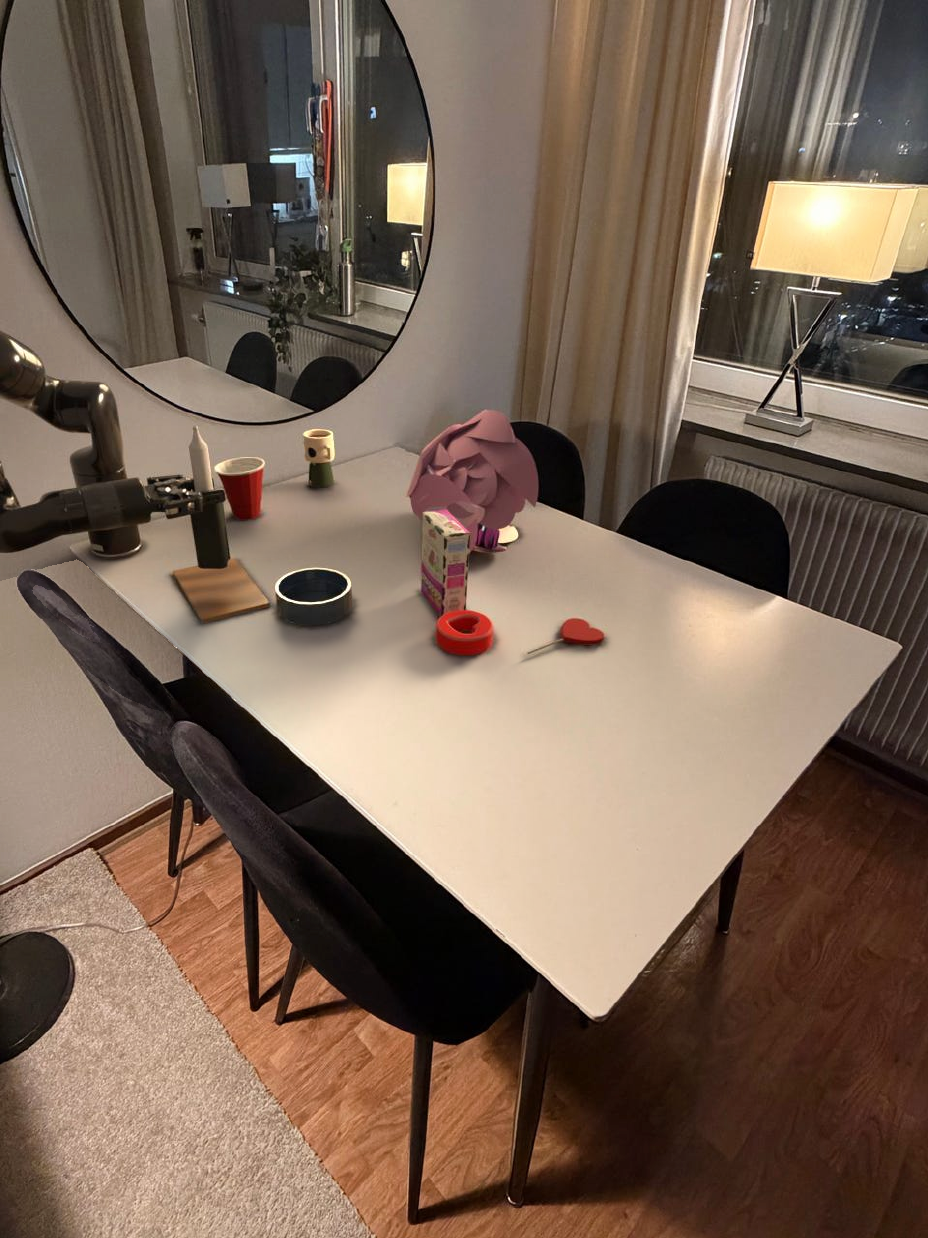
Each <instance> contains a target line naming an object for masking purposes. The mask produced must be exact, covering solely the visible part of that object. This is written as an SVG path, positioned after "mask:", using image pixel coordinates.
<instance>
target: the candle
mask: <svg viewBox="0 0 928 1238" xmlns="http://www.w3.org/2000/svg"><path fill="white" fill-rule="evenodd" d="M192 430H193V431H192V432H193V433H192V438H191V442H190V443H189V445H188V452H189V457H190V466H191V471H192V477H193V479H194V485H195V490H194V491H192V490H191V492H201V491H208V490H214V489H215V488H213V484H212V478H213V476H212V471H211V463H210V456H209V449H208V445H207V443H206V441H204V440H203V438H202V435H201V434H200V431H199V427H198V426H197V425H193V427H192ZM193 503H194V502H193ZM203 506H204V507H203V508H202V510H203V511H202V512H200V513H195V514H191V515H189V516H190V522H191V529H192V535H193V540H194V549H195V554H196V561H197V566H198V567H199V568H201V569H223V568H226V567H227V566H228V564H227V563H228V561H229V559H231V552H230V543H229V536H228V528H227V521H226V520H227V519H226V513H225V512H226V511H225V506H224V502H221V503H215V504H209V505H203ZM189 509H192V508H189Z"/></svg>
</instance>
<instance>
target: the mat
mask: <svg viewBox="0 0 928 1238" xmlns="http://www.w3.org/2000/svg"><path fill="white" fill-rule="evenodd" d="M227 564H228V566H227V567H226V568H223V569H201V568H199V567H198V565H195V566H190V567H185V568H180V569H175V570H172V575H173V577H174V578H175V581H176V582H177V583H178V585H179V588H181V590H182V592H183V593H184V595H185V597H186V598H187V600H188V602H189V603H190V605H191V607H192V608H193V610H194V612H195V614H196V615H197V617H198V619H199V620H200V622H201V623H202V624H205V623H209V622H214V621H217V620H220V619H224V618H229V617H233V616H237V615H240V614H241V615H242V614H245V613H249V612H253V611H257V610H261V609H264V608H269V607H271V606H270V605H271V604H270V601H269V600H268V599H267V598H266V596H265V595H264V594H263V593H262V591H261V590H260V588H259V587H258V586H257V585H256V583H255V582H254V581H253V580H252V578H251V577H250V575H249V574H248V573H247V571H245V569H244V567H242V565H241V564H240V563H239V562H238V560H237V559H236V557H232V558H231V557H230V559H229V561H228V563H227Z"/></svg>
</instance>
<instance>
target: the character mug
mask: <svg viewBox="0 0 928 1238" xmlns="http://www.w3.org/2000/svg"><path fill="white" fill-rule="evenodd" d="M302 436H303V437H302V439H303V442H302V443H303V446H304V458H305V461H306V462H309V464H308V465H309V466H308V482H310V486H311V487H313V488H326V487H328V486H331V485H334V483H335V479H334V473H333V468H332V464H331V461H333V460H334V459H335V442H334V432H333V431H331V430H328V429H321V428H320V429H319V428H314V429H309V430H306V431H304V432H303V434H302Z"/></svg>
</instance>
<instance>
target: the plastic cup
mask: <svg viewBox="0 0 928 1238" xmlns="http://www.w3.org/2000/svg"><path fill="white" fill-rule="evenodd" d="M265 465H266V462H265V460H264V459H262V458H259V457H253V456H252V457H251V456H247V457H246V456H245V457H236V458H229V459H227V460H224V461H223V460H222V461H221V462H219V463H217V464H216V465H215V466H214V467H213V471H214V472H215V473H216V474H217V475H218V478H219V480H220V482H221V484H222V487H223V490H224V492H225V497H226V499H227V502H228V503H229V506H230V510H231V513H232V515H233V517H234V518H235V519H238V520H244V521H245V520H246V521H247V520H253V519H256V518H258V517H260V514H261V507H262V496H263V495H262V494H263V477H264V467H265Z"/></svg>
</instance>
